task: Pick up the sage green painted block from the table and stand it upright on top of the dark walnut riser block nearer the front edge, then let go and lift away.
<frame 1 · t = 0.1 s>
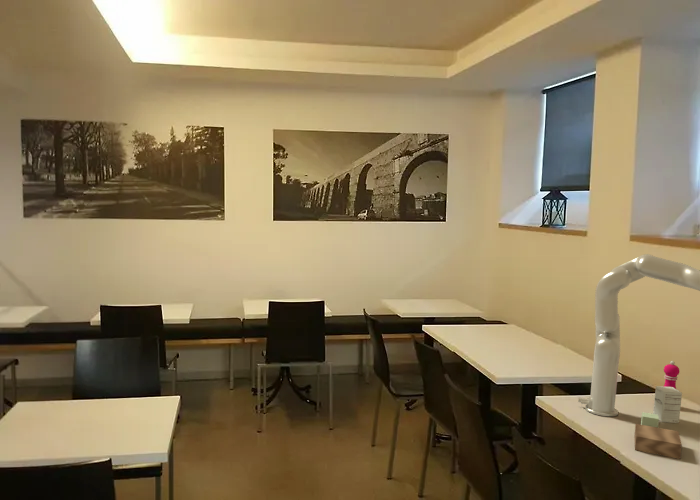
walnut riser block: (656, 447, 216), on the table
supplement box: (665, 419, 247), on the table
sage block: (648, 433, 230), on the table
pepper mill: (667, 406, 265), on the table
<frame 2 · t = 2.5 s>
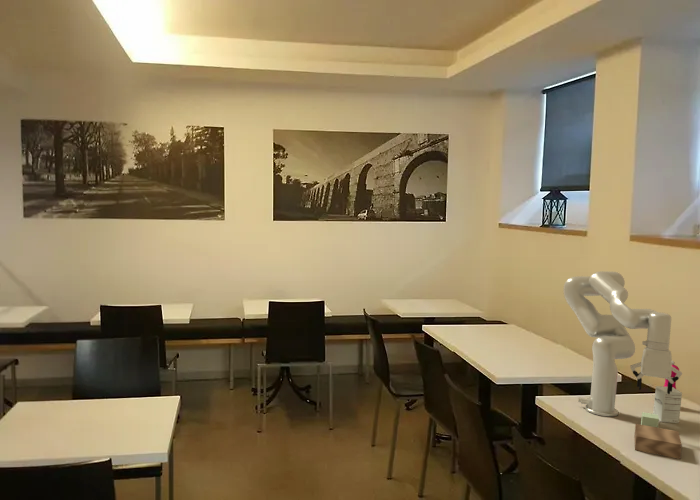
hand: (654, 391, 228), 17 cm above the table, tool pointing down, fingers open, 9 cm apart
nothing on the table moved.
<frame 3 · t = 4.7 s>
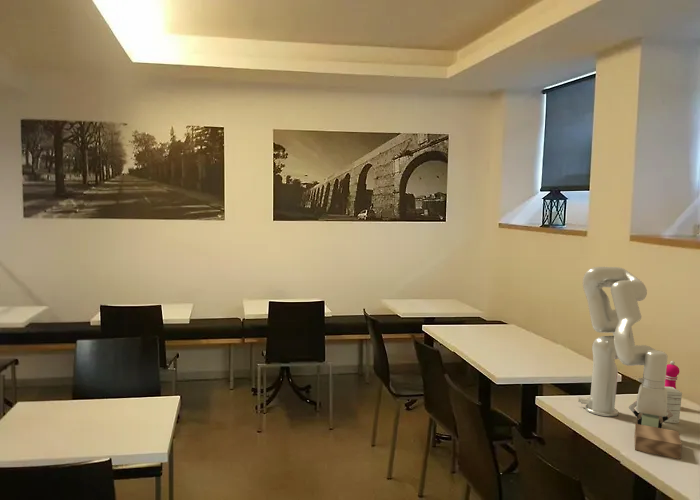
hand: (648, 430, 230), 1 cm above the table, tool pointing down, fingers closed on sage block, 5 cm apart
sage block: (648, 433, 230), on the table, touching gripper
everything else where it was.
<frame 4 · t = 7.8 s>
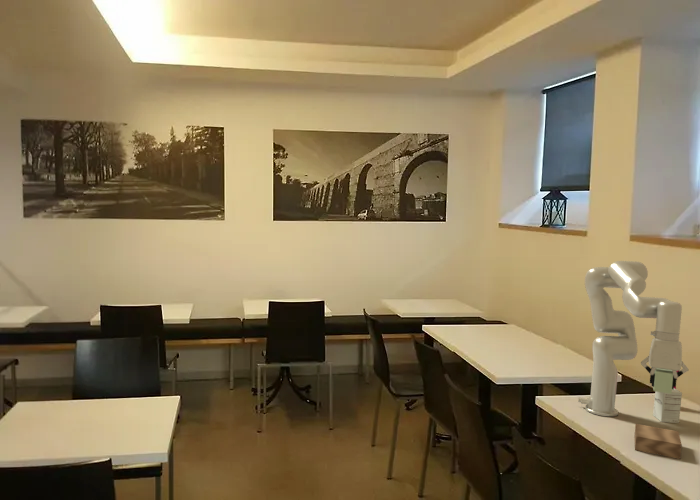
hand: (662, 386, 215), 22 cm above the table, tool pointing down, fingers closed on sage block, 5 cm apart
sage block: (662, 390, 215), point 21 cm above the table, touching gripper
everything else where it was.
when the fingers open (7 cm above the table, at t = 10.9 s): sage block drops 1 cm, resting on walnut riser block.
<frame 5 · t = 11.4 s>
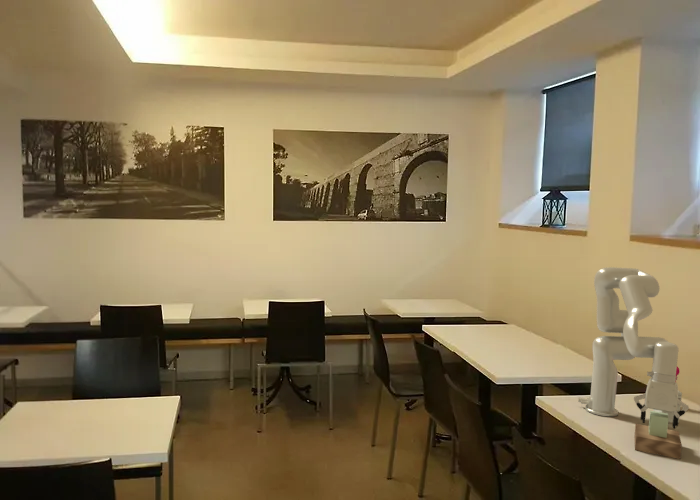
hand: (658, 424, 216), 8 cm above the table, tool pointing down, fingers open, 9 cm apart
sage block: (657, 433, 216), point 5 cm above the table, touching walnut riser block
everything else where it was.
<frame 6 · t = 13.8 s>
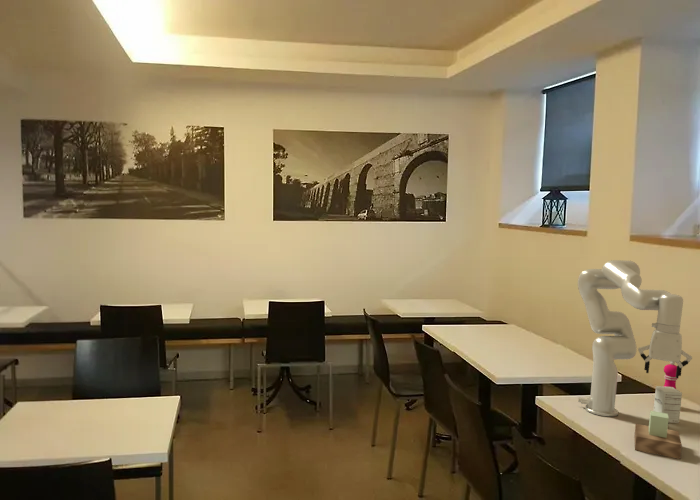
hand: (662, 374, 220), 25 cm above the table, tool pointing down, fingers open, 9 cm apart
nothing on the table moved.
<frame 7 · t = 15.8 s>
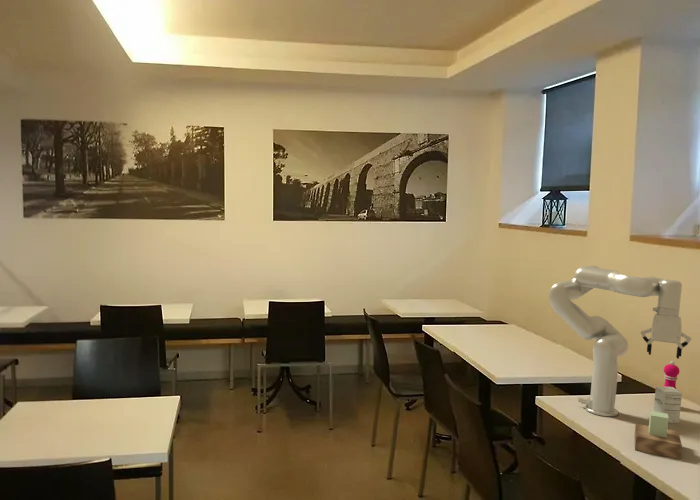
hand: (663, 356, 235), 28 cm above the table, tool pointing down, fingers open, 9 cm apart
nothing on the table moved.
at the end: sage block inside the target area on the walnut riser block (0.1 cm from its centre), point 5.0 cm above the walnut riser block's base; sage block tilted 0°; the gripper is holding nothing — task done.
